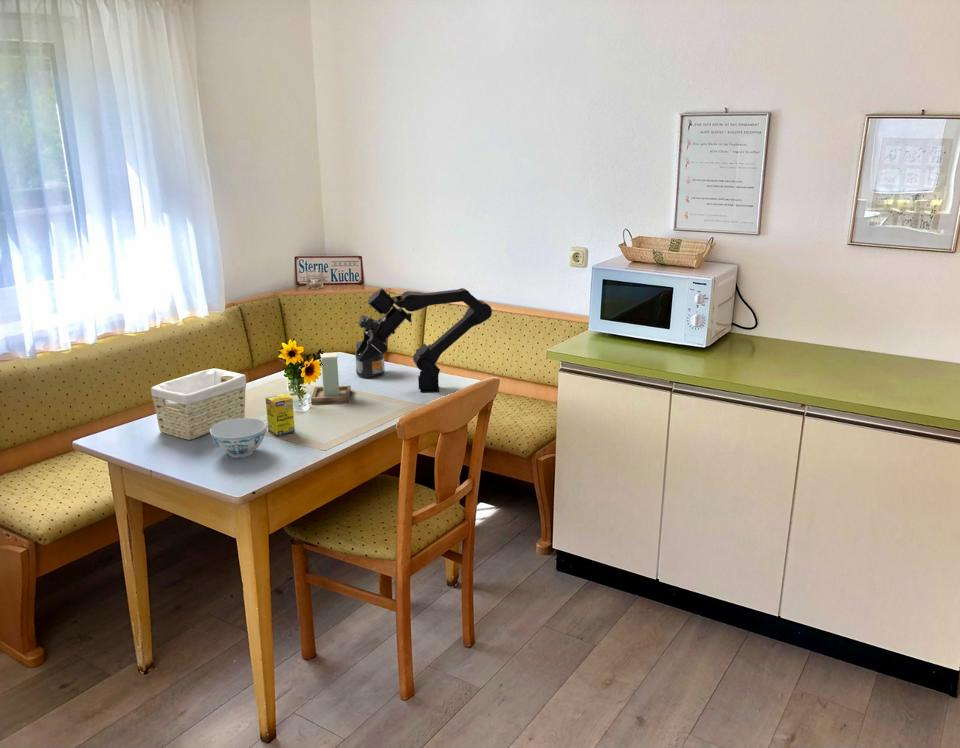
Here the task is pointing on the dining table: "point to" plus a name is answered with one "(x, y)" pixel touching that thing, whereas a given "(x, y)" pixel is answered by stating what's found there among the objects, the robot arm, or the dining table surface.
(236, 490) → the dining table surface
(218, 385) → the storage basket
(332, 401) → the walnut tray
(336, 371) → the tea tin
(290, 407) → the supplement box
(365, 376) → the supplement container
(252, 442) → the chinaware
